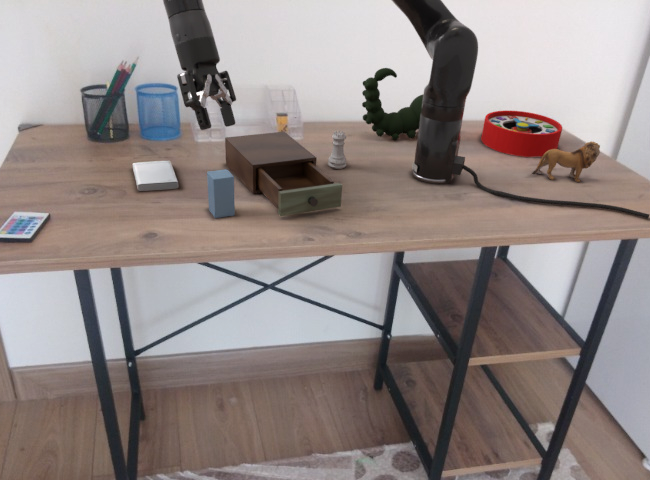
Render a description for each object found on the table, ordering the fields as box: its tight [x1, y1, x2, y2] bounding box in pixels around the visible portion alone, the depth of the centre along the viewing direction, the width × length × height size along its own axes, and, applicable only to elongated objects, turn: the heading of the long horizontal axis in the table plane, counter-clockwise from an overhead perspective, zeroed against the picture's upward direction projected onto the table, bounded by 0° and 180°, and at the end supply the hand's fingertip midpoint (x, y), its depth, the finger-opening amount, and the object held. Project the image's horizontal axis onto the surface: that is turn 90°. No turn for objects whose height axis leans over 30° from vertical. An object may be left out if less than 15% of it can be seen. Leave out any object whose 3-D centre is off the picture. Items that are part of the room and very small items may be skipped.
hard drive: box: [132, 160, 179, 192], centre depth 138 cm, size 2×8×12 cm
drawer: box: [256, 161, 343, 217], centre depth 132 cm, size 18×13×5 cm
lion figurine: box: [531, 140, 601, 183], centre depth 151 cm, size 15×5×9 cm, turn 92°
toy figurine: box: [361, 67, 423, 141], centre depth 167 cm, size 9×19×25 cm
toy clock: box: [480, 110, 563, 158], centre depth 171 cm, size 20×6×20 cm
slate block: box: [206, 168, 236, 219], centre depth 124 cm, size 4×4×8 cm
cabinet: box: [224, 131, 317, 195], centre depth 142 cm, size 17×14×6 cm
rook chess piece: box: [327, 130, 347, 170], centre depth 149 cm, size 4×4×8 cm
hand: (218, 127), depth 125 cm, fingers open, 8 cm apart
